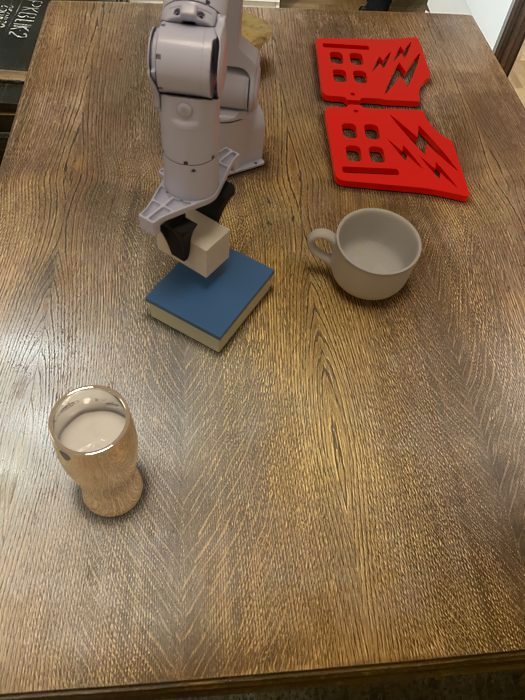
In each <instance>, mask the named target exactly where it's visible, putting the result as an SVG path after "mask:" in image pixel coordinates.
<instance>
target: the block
mask: <svg viewBox="0 0 525 700" xmlns="http://www.w3.org/2000/svg"><path fill="white" fill-rule="evenodd" d="M185 214H186V218H188V219H190V220H191V221H193V222H195V223H197V224H198V225H197V226H196V228H195V229H194V231H193V234H192V237H191V242H190V253H189V257H188V259H187V260H186V261H182V260H180V259H179V258H177V257H175V256H174V255H172V254H171V251H170V249H169V246H168V244H167V242H166V240H165V238H164V236H163V234H162V233H161V231H160V233H159V234H157V235H156V245H157V249H158V250H160V251H161V252H163V253H165V254H166V255H167V256H170V257H171V258H173V259H174V260H175V261H178V262H181V263H183V264H184V265H186V266H188V267H189V268H191V269H192V270H194V271H196V272H197V273H199V274H201V275H202V276H204V277H206V278H207V277H208V276H209V275H210V274H211V273H212V272H213V271H214V270H216V269H217V268H218V267H219V266H220V265H221V264H222V263H223V262H224V261H225V260H226V259H227V258H228V257H229V248H231V247H230V245H231V243H230V242H231V229H230V228H228V227H226V226H225V225H223V224H221V223H220V222H219V223H217V222H216V221H214V220H212V219H210V218H209V217H207V216H205V215H203V214H202V213H200V212H198V211H196V210H192V211H189V212H187V213H185Z"/></svg>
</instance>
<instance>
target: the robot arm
mask: <svg viewBox="0 0 525 700" xmlns="http://www.w3.org/2000/svg"><path fill="white" fill-rule="evenodd" d="M243 8H244V0H162V8H161V14H160V22H159V26H158V27H157V26H156V25H153V26H152V27H151V29H150V32H149V35H148V43H147V54H146V63H147V64H146V65H147V75H148V76H147V77H148V84H149V88H150V90H151V93H152V95H153V105H154V108H155V110H156V111H157V112H159V123H160V124H159V126H160V137H161V153H162V167H161V168H159V170H158V177H159V178H160V179H161V182H160V183H159V185H158V187H157V189H156V190H155V192H154V193H153V196H152V197H151V198H150V200H149V202H148V204H147V206H146V207H145V208H144V209H143V210H142V211H141V212H140V213H138V221H139V228H140V229H141V230H143V231H144V232H145V233H148V234H149V235H151V236H152V237H157V234H159V233H160V231H161V233H162V234H163V236H164V238H165V240H166V242H167V244H168V246H169V249H170V251H171V254H172V255H174V256H175V257H177V258H179V259H180V260H182V261H186V260H187V259H188V257H189V253H190V242H191V237H192V234H193V231H194V229H195V228H196V226H197V225H198V224H197V223H195V222H193V221H191V220H190V219H188V218H186V214H185V213H187V212H189V211H192V210H196V211H198V212H200V213H202V214H203V215H205V216H207V217H209V218H210V219H212V220H214V221H216V222H217V223H219V224H220V220H221V218H222V215H223V212H224V210H225V209H226V207H227V205H228V203H229V202H230V200H231V199H232V197H233V196H234V195H235V194H236V186H235V184H234V183H232V182H231V181H229V180H228V176H231V175H235V174H238V173H242V172H245V171H248V170H251V169H255V168H257V167H261V166H264V165H265V160H264V159H263V155H264V153H263V152H264V141H265V140H264V139H265V130H266V122H265V115H264V112H263V111H264V110H263V109H262V107H261V105H260V103H259V94H260V86H261V74H262V73H261V72H262V68H261V57H262V56H261V54H260V50H258V49H257V48H256V47H255V46H254V45H253V44H252V43H251V42H249V41H248V40H247V39H246V38H245V37H244V36H243V35H242V34H241V31H242V12H244V11H243V10H244V9H243Z"/></svg>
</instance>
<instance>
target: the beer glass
mask: <svg viewBox="0 0 525 700" xmlns="http://www.w3.org/2000/svg"><path fill="white" fill-rule="evenodd" d="M47 430H48V435H49V436H50V440H51V443H52V446H53V449H54V452H55V455H56V457H57V460H58V462H59V463H60V465H61V467H62V469H63V470H64V471H65V473H66V474H67V475H68V476H69V478H71V479H72V480H73V481H74V482H75V483H76V484H77V485H78V486H79V487H81V496H82V500H83V503H84V505H85V506H86V508H87V509H88V510H89V511H90V512H92V513H94V514H95V515H97V516H99V517H102V518H103V517H104V518H114V517H119V516H122V515H124V514H127V513H129V512H130V511H131V510H132V509H133V508H134V507H135V506H136V505H137V504H138V502H139V501H140V499H141V497H142V494H143V489H144V481H143V477H142V474H141V472H140V470H139V469H138V468H137V461H138V457H139V456H138V455H139V439H138V438H139V437H138V431H137V428H136V424H135V421H134V418H133V416H132V413H131V410H130V408H129V404H128V402H127V400H126V398H124V397H123V395H122V394H120V392H118V391H117V390H115V389H113V388H112V387H108V386H105V385H101V384H100V385H99V384H87V385H83V386H78V387H76V388H73V389H71V390H70V391H68V392H66V393H65V394H63V395H62V396H61V397H60V398H59V399H58V400H57V401H56V402H55V404H53V407H52V409H51V410H50V413H49V416H48V421H47Z"/></svg>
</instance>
